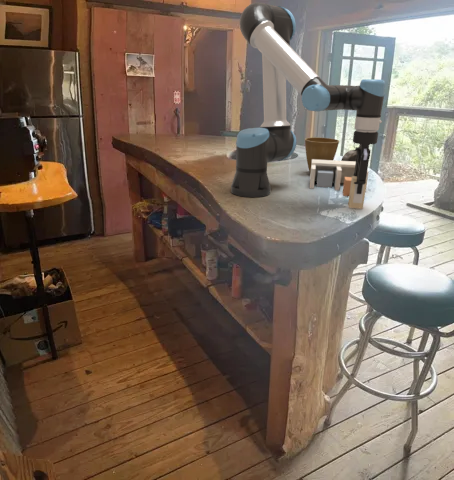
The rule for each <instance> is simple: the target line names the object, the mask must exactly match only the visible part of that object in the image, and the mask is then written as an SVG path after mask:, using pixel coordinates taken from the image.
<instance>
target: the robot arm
mask: <svg viewBox="0 0 454 480" xmlns="http://www.w3.org/2000/svg"><path fill="white" fill-rule="evenodd" d="M296 25H297V24H296V19H295V16H294V15H293V13H292V12H291V11H290V10H289V9H288V8H285V7H283V6H280V5H272V4H268V3H264V2H253V3H251V4H248V6H245V8H244V9H243V11H242V13H241V15H240V18H239V29H240V32H241V35H242V36H243V38H244V39H245V41H247V43H248V44H249V45H250V46H251V47H252V48H253V49H257V50H258V51H259V52H260V53H261V57H262V58H261V60H262V61H261V62H262V93H263V94H262V95H263V98H262V99H263V122H262V123H261V125H260V126H259V127H253V128H252V127H249V128H245V129H242V130H240V131H239V132H238V133H237V135H236V142H235V146H236V152H235V153H236V154H235V155H236V156H235V157H236V158H235V160H236V161H235V173H234V176H233V179H232V182H231V185H230V193H231V194H232V195H235V196H239V197H244V198H260V197H261V198H262V197H266V196H268V195H270V194H271V184H270V181H269V177H268V163H271V162H276V161H280V162H281V161H284V160H285V159H288V158H290V157H291V156H292V155H293V154H294V153H295V151H296V149H297V137H296V134H295V133H294V131H293V130H292V129H291V128H292V127H291V123H290V122H289V121H288V120H287V82H288V83H289V84H290V85H291V86H292V87H293V88H294V89H295V91H296V92H298V94H299V95H301V103H302V105H303V107H304V108H305V109H306V110H307V111H311V112H324V111H325V112H326V111H338V110H340V111H342V110H343V111H356V114H355V121H354V128H353V129H354V131H353V136H352V137H353V138H352V142H353V144H354V143H355V144H357V145H359V146H358V147H359V148H358V147H357V151H356V152H357V155H356V164H355V171H354V176H357V181H356V182H354V184H355V191H354V198H353V203H362V196H363V189H364V184H365V183H366V176H367V170H368V168H369V161H370V158H371V149H370V145H376V144H377V143H378V140H379V139H378V137H379V132H378V131H379V129H380V124H382V122H383V121H382V120H381V118H382V117H381V116H382V111H383V105H384V99H385V91H386V81H385V80H384V79H374V78H373V79H372V78H371V79H366V78H363V79H361V80H360V82H359V85H349V84H348V85H343V84H331V85H330V84H327V83H326V82H324V81H325V80H323V79H322V78H321V77H320V76H319V74H317V73H316V71H314V69H312V67H311V66H310V65H309V64H307V62H306V61H305V60H304V59H303V58H302V57H301V56H300V54H298V53H297V52H296V51H295V49H293V47H292V46H291V45H290V42H291V41H292V39H293V36H295V33H296V30H297V28H296V27H297V26H296Z"/></svg>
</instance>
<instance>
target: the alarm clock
mask: <svg viewBox="0 0 454 480" xmlns="http://www.w3.org/2000/svg"><path fill="white" fill-rule="evenodd" d="M355 144H356V143H354V142H353V145H355ZM353 148H354V149H350V150H348V151H346V152H345V153H344V154H343V155H342V157H341V159H340V161H355V162H356V155H357V152H356V151H357V148H359V146H358V147H357V146H356V147H355V146H353Z"/></svg>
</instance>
